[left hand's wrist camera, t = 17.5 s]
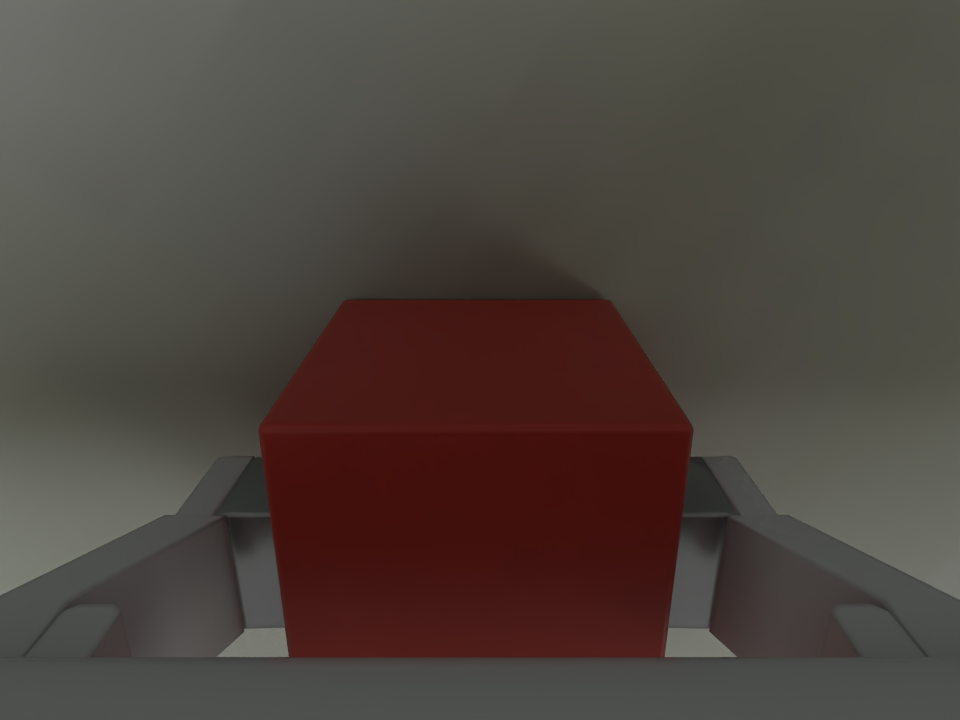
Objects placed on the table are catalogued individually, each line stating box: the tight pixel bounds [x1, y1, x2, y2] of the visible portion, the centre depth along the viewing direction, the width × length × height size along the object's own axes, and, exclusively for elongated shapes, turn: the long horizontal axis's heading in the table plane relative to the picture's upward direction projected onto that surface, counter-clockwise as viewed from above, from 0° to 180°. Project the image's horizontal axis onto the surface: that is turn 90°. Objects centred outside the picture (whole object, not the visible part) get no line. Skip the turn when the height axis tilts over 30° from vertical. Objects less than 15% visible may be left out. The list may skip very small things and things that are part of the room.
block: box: [259, 300, 693, 657], centre depth 10 cm, size 5×5×5 cm
